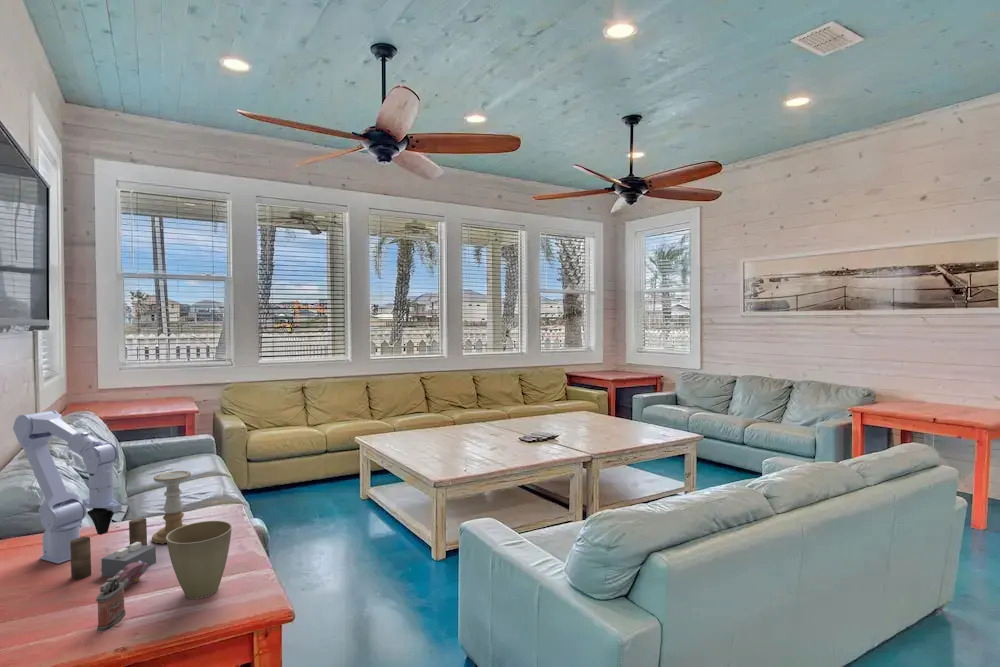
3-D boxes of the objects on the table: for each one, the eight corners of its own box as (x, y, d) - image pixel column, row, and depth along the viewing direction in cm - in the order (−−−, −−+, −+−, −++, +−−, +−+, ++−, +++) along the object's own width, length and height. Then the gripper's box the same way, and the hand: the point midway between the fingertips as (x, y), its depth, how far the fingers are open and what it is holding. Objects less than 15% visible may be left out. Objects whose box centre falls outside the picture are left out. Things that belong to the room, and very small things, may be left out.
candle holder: (182, 544, 177) (180, 480, 176) (142, 544, 177) (141, 480, 177) (203, 529, 189) (201, 469, 189) (166, 529, 190) (164, 469, 189)
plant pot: (172, 585, 150) (170, 525, 149) (234, 575, 156) (232, 517, 155) (163, 612, 136) (161, 546, 136) (232, 599, 142) (230, 536, 141)
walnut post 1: (67, 578, 155) (66, 541, 155) (84, 571, 159) (83, 535, 159) (77, 580, 153) (76, 544, 153) (94, 574, 157) (93, 538, 157)
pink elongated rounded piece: (114, 600, 145) (124, 577, 145) (100, 591, 146) (110, 568, 145) (145, 582, 155) (154, 560, 154) (131, 574, 156) (141, 552, 155)
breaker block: (101, 576, 156) (101, 552, 156) (132, 561, 166) (132, 538, 166) (126, 579, 154) (125, 555, 154) (156, 563, 164) (155, 540, 164)
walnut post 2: (126, 555, 169) (125, 522, 169) (140, 549, 174) (140, 517, 173) (136, 557, 168) (135, 524, 167) (150, 551, 172) (149, 519, 171)
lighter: (114, 613, 136) (113, 571, 136) (129, 612, 136) (128, 571, 136) (93, 631, 128) (91, 588, 128) (109, 631, 128) (107, 587, 128)
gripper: (70, 487, 163) (72, 534, 164) (102, 493, 157) (104, 542, 158) (96, 481, 170) (97, 526, 170) (128, 486, 164) (129, 533, 164)
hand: (102, 533), depth 164 cm, fingers closed
